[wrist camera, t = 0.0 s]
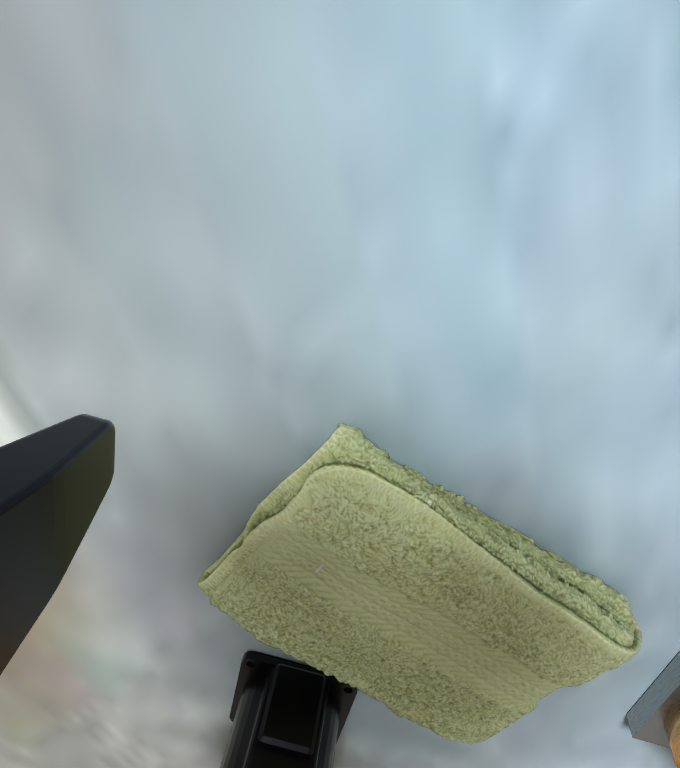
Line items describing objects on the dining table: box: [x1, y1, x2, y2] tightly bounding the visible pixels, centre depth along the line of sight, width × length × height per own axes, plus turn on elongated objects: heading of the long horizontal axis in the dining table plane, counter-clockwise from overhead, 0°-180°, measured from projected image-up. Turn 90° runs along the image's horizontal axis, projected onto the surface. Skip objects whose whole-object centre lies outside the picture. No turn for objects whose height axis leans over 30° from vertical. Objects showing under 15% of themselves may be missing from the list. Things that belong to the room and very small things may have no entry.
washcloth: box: [197, 423, 642, 744], centre depth 29 cm, size 13×18×3 cm
